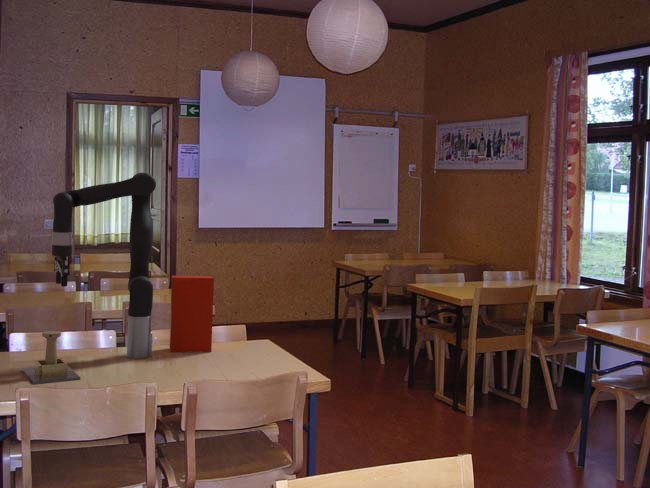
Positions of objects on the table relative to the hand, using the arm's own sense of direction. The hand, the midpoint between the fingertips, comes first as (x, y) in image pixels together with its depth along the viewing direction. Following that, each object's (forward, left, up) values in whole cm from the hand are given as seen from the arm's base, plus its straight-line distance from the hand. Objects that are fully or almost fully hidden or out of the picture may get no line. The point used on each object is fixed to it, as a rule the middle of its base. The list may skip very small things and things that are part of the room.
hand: (61, 284), depth 286 cm
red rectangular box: (-54, +2, -30) cm, 62 cm away
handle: (+8, +20, -30) cm, 37 cm away
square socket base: (+8, +20, -30) cm, 37 cm away
